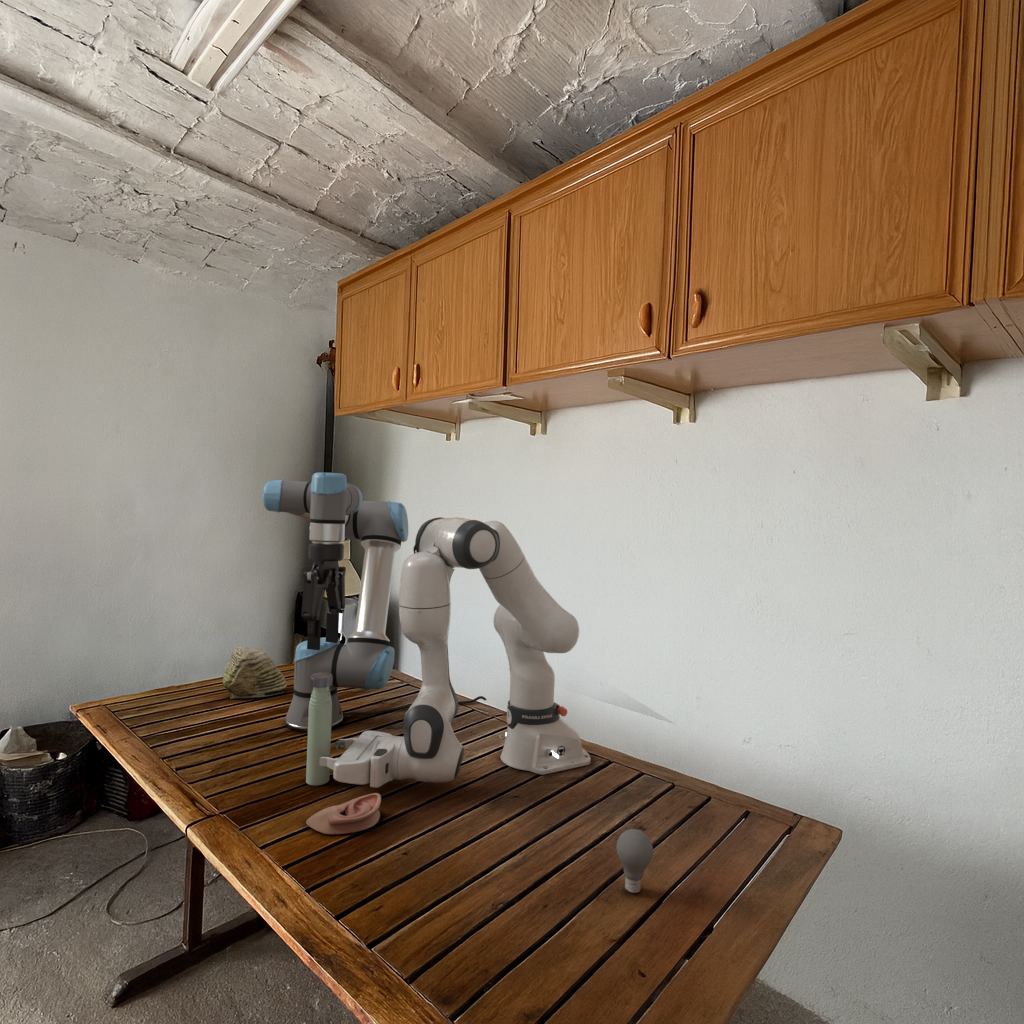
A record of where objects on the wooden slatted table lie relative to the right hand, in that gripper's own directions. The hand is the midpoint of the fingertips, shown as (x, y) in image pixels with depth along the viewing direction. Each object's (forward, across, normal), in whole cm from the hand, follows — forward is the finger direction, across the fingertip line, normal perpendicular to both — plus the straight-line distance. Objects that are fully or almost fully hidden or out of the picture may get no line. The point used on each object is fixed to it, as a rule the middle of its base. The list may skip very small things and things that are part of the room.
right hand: (328, 751), depth 141 cm
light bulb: (-64, +29, +7) cm, 71 cm away
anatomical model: (-10, +16, +7) cm, 20 cm away
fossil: (+45, -53, +7) cm, 70 cm away
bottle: (+2, 0, +7) cm, 7 cm away
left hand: (+2, 0, -24) cm, 24 cm away
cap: (+2, 0, -17) cm, 17 cm away
